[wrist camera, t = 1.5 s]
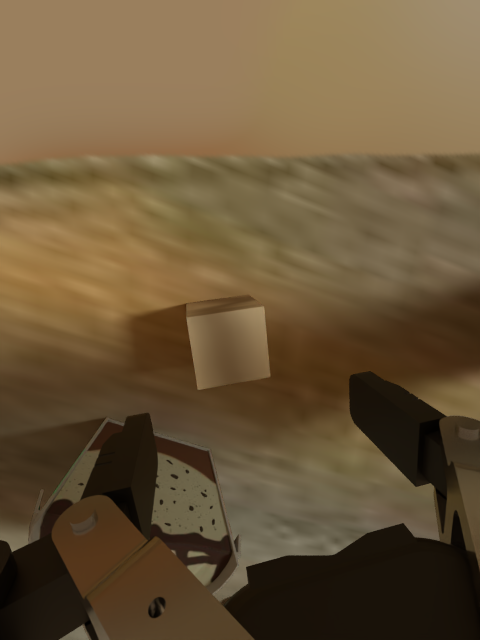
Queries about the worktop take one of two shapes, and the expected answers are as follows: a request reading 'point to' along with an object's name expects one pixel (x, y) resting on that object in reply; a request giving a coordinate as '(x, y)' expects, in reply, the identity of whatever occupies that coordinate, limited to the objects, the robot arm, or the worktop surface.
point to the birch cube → (228, 341)
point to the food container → (164, 505)
